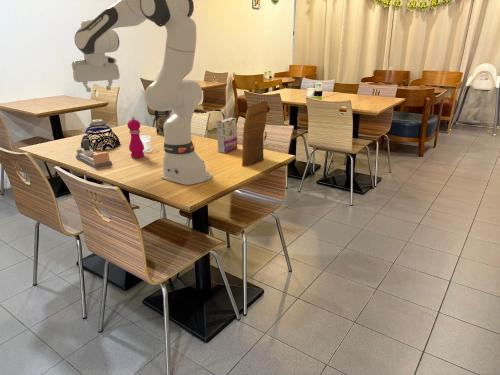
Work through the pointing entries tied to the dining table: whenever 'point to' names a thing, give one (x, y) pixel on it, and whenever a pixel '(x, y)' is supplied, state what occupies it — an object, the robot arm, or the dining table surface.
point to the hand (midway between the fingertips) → (99, 90)
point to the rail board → (94, 159)
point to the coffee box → (161, 120)
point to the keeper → (86, 148)
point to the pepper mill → (135, 139)
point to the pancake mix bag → (254, 134)
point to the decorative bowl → (100, 136)
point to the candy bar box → (227, 135)
